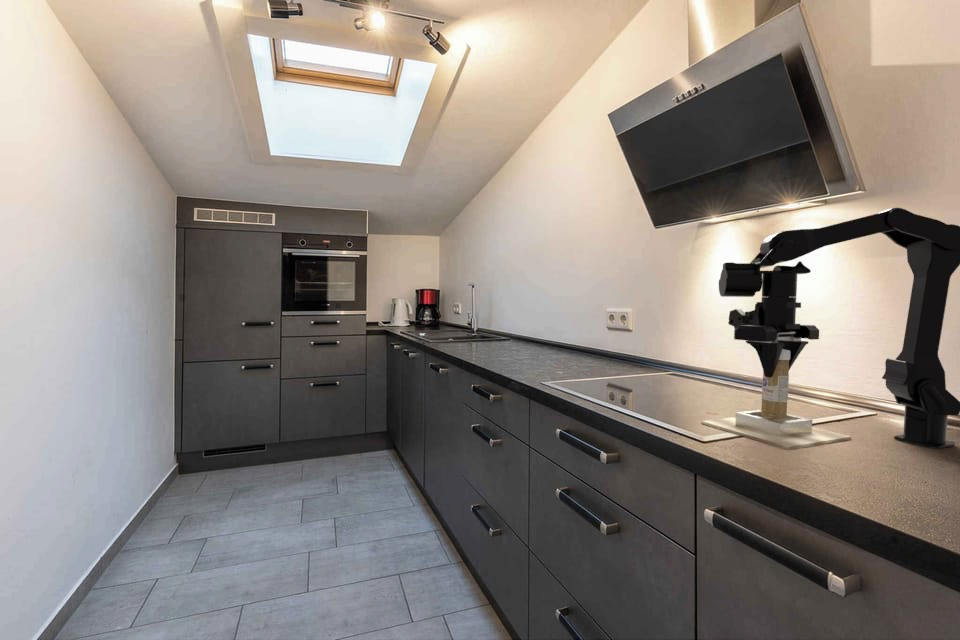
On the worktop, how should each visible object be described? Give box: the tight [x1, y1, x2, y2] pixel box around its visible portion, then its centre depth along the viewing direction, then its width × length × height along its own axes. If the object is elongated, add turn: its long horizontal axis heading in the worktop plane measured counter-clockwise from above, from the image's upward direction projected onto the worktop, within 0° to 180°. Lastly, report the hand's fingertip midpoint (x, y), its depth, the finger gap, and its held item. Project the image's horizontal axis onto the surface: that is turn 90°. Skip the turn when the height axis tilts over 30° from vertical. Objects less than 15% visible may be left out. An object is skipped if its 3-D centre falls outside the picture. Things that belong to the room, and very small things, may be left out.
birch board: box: [701, 416, 852, 451], centre depth 91 cm, size 18×18×1 cm
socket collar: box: [735, 409, 813, 437], centre depth 91 cm, size 9×9×2 cm
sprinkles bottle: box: [760, 349, 790, 419], centre depth 91 cm, size 5×5×14 cm
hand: (775, 376), depth 91 cm, fingers closed on sprinkles bottle, 4 cm apart
